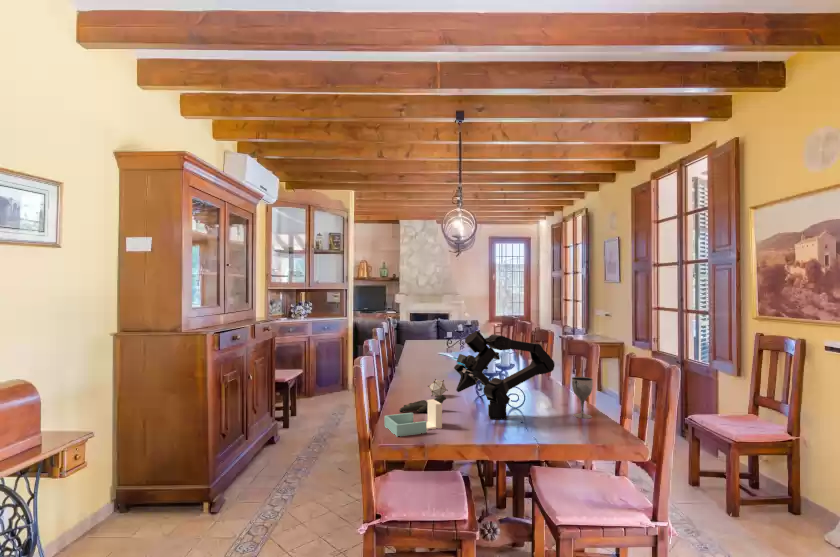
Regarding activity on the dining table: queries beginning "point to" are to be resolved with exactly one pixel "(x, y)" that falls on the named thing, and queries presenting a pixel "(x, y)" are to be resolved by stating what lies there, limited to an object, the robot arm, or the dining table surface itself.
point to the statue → (420, 405)
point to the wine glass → (582, 392)
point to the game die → (437, 388)
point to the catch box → (404, 425)
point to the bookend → (434, 414)
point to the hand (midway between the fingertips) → (457, 391)
